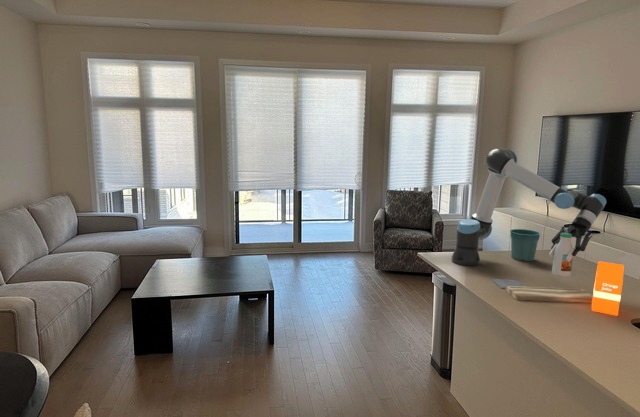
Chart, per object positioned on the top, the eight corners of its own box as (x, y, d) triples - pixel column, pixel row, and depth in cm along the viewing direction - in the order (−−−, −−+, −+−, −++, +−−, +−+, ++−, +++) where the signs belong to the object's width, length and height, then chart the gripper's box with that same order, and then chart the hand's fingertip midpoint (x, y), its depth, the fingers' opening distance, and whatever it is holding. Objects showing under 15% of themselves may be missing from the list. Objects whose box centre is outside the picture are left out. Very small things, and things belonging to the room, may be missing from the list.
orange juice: (617, 316, 166) (625, 267, 163) (591, 310, 171) (598, 263, 168) (616, 309, 173) (623, 262, 170) (591, 304, 178) (597, 258, 174)
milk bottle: (552, 275, 197) (558, 234, 193) (550, 271, 204) (555, 230, 201) (571, 278, 194) (577, 236, 191) (568, 273, 201) (574, 232, 198)
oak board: (505, 290, 192) (505, 285, 192) (580, 292, 192) (580, 288, 191) (516, 299, 180) (517, 295, 180) (596, 302, 180) (597, 298, 180)
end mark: (491, 279, 206) (491, 279, 206) (515, 280, 206) (516, 280, 206) (501, 288, 194) (501, 287, 194) (527, 289, 194) (527, 288, 194)
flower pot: (511, 261, 240) (514, 233, 238) (503, 253, 256) (506, 228, 254) (541, 263, 238) (545, 235, 235) (532, 255, 254) (535, 229, 251)
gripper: (608, 231, 194) (583, 268, 189) (565, 222, 211) (541, 257, 206) (603, 220, 190) (578, 258, 185) (560, 212, 208) (535, 247, 203)
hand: (558, 257), depth 196 cm, fingers closed on milk bottle, 7 cm apart
